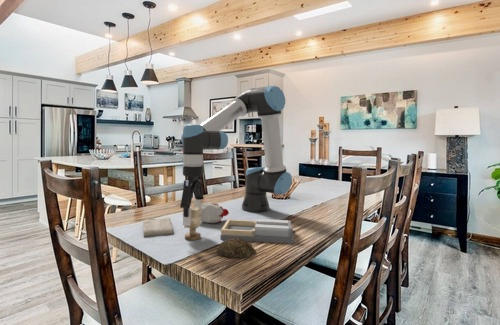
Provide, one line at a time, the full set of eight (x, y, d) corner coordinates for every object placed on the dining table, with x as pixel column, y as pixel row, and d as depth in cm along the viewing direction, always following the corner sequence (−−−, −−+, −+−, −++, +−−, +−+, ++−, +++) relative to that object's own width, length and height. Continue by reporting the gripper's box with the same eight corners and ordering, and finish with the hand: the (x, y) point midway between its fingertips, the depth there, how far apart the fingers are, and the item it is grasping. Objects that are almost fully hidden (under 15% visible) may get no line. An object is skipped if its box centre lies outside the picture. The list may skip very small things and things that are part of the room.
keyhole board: (220, 239, 111) (220, 226, 110) (228, 226, 126) (228, 215, 126) (293, 243, 107) (294, 231, 107) (292, 230, 123) (292, 219, 123)
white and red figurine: (192, 221, 132) (217, 219, 142) (206, 226, 124) (232, 224, 134) (194, 201, 132) (219, 201, 142) (209, 205, 124) (234, 205, 134)
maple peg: (182, 239, 109) (182, 209, 108) (187, 234, 115) (187, 206, 114) (197, 240, 108) (198, 210, 107) (202, 235, 114) (202, 206, 113)
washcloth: (170, 222, 132) (170, 215, 132) (174, 235, 116) (174, 227, 115) (142, 224, 128) (142, 218, 128) (143, 238, 111) (143, 230, 111)
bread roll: (211, 256, 96) (212, 241, 95) (227, 243, 107) (228, 230, 107) (247, 262, 91) (247, 247, 91) (260, 249, 103) (260, 235, 102)
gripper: (193, 162, 122) (193, 211, 124) (170, 168, 97) (170, 229, 99) (210, 163, 121) (210, 212, 123) (192, 169, 96) (192, 230, 98)
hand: (192, 220), depth 111 cm, fingers open, 13 cm apart
